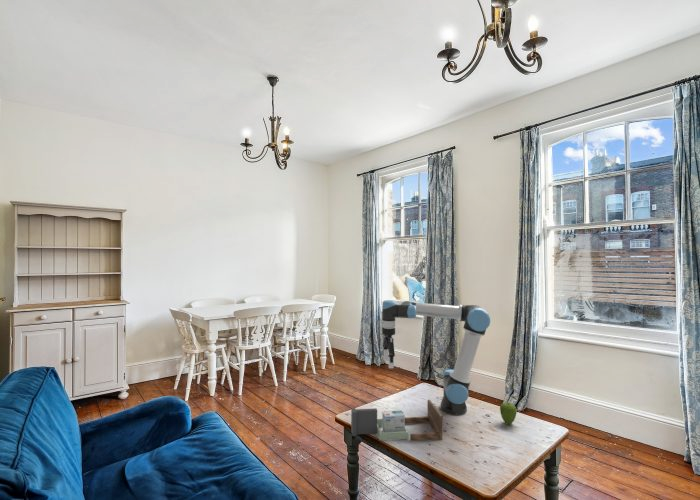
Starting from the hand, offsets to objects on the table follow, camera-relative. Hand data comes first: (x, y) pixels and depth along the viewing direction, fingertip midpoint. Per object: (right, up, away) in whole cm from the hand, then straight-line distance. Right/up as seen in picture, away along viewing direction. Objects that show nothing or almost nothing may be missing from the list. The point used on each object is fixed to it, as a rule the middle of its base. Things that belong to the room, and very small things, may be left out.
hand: (388, 364), depth 209 cm
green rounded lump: (+64, -29, -11) cm, 72 cm away
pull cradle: (-8, -28, -22) cm, 37 cm away
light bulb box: (0, -29, -23) cm, 37 cm away
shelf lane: (+15, -29, -20) cm, 38 cm away
